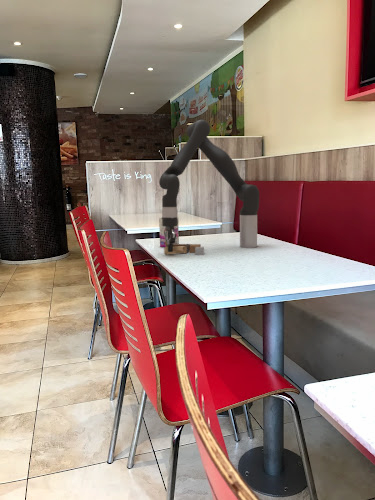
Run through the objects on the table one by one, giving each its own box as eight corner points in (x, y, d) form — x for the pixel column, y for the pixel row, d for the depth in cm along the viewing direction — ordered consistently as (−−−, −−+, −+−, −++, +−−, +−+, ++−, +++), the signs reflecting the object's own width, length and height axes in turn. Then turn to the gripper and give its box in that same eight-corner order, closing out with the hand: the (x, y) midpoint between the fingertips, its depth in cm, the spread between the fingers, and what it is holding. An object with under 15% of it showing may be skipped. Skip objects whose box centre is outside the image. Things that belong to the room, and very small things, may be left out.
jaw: (184, 252, 216) (184, 245, 216) (186, 252, 214) (186, 246, 213) (164, 253, 212) (163, 247, 212) (165, 254, 210) (165, 248, 210)
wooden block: (166, 250, 224) (166, 242, 223) (200, 250, 221) (200, 242, 220) (163, 253, 216) (163, 244, 216) (199, 253, 214) (199, 244, 213)
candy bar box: (179, 247, 233) (178, 217, 230) (172, 249, 229) (171, 218, 227) (166, 246, 241) (165, 216, 238) (159, 247, 238) (158, 217, 235)
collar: (196, 253, 213) (196, 246, 213) (204, 253, 213) (204, 246, 212) (195, 255, 209) (195, 247, 209) (203, 255, 209) (203, 247, 208)
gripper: (158, 215, 212) (159, 250, 214) (166, 217, 200) (167, 254, 202) (172, 215, 214) (173, 249, 217) (181, 216, 202) (182, 253, 204)
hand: (170, 251), depth 209 cm, fingers closed
